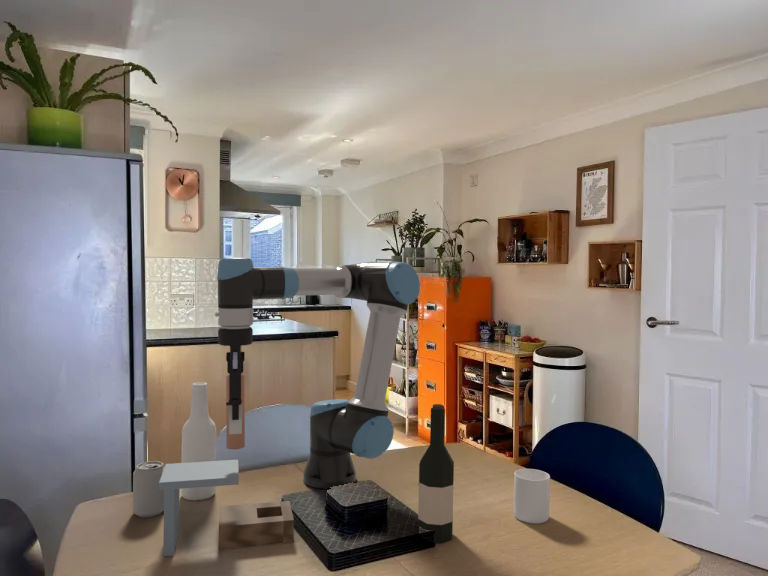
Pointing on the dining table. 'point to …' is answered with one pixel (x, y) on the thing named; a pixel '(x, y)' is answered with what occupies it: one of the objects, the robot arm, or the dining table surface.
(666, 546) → the dining table surface
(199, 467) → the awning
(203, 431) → the alcohol
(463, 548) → the dining table surface
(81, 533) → the dining table surface
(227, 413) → the peg
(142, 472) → the can
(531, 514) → the mug
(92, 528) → the dining table surface
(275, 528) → the socket
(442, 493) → the wine bottle
